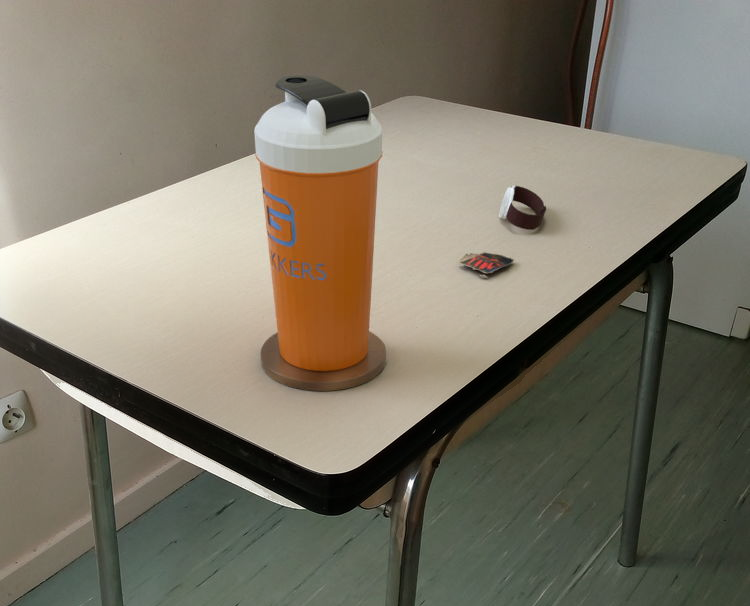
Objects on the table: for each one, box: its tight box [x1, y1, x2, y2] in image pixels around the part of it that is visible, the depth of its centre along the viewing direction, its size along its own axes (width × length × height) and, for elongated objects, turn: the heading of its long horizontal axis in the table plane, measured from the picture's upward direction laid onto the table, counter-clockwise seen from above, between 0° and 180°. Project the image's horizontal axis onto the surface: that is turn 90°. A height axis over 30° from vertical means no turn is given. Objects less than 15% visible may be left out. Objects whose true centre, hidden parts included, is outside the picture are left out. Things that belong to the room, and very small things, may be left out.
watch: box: [498, 185, 547, 231], centre depth 103 cm, size 8×5×4 cm, turn 177°
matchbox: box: [458, 251, 515, 279], centre depth 95 cm, size 5×5×1 cm
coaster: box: [260, 330, 387, 392], centre depth 80 cm, size 10×10×1 cm
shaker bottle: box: [253, 75, 383, 371], centre depth 74 cm, size 9×9×20 cm
